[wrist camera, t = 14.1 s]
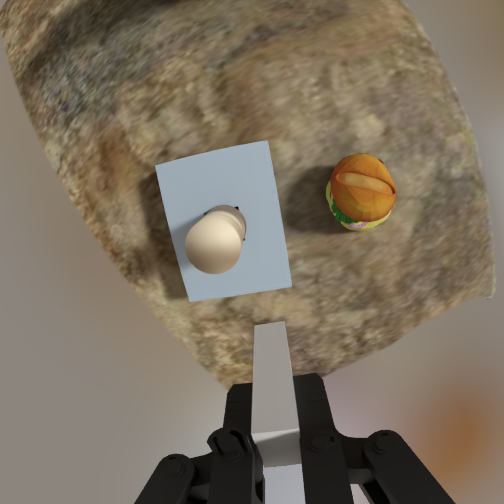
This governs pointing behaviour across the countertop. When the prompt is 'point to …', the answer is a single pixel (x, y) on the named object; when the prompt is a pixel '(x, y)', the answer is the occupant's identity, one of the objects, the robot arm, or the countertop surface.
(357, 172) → the cheeseburger
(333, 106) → the countertop surface
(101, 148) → the countertop surface
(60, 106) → the countertop surface
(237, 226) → the peg
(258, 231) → the board
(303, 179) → the countertop surface
